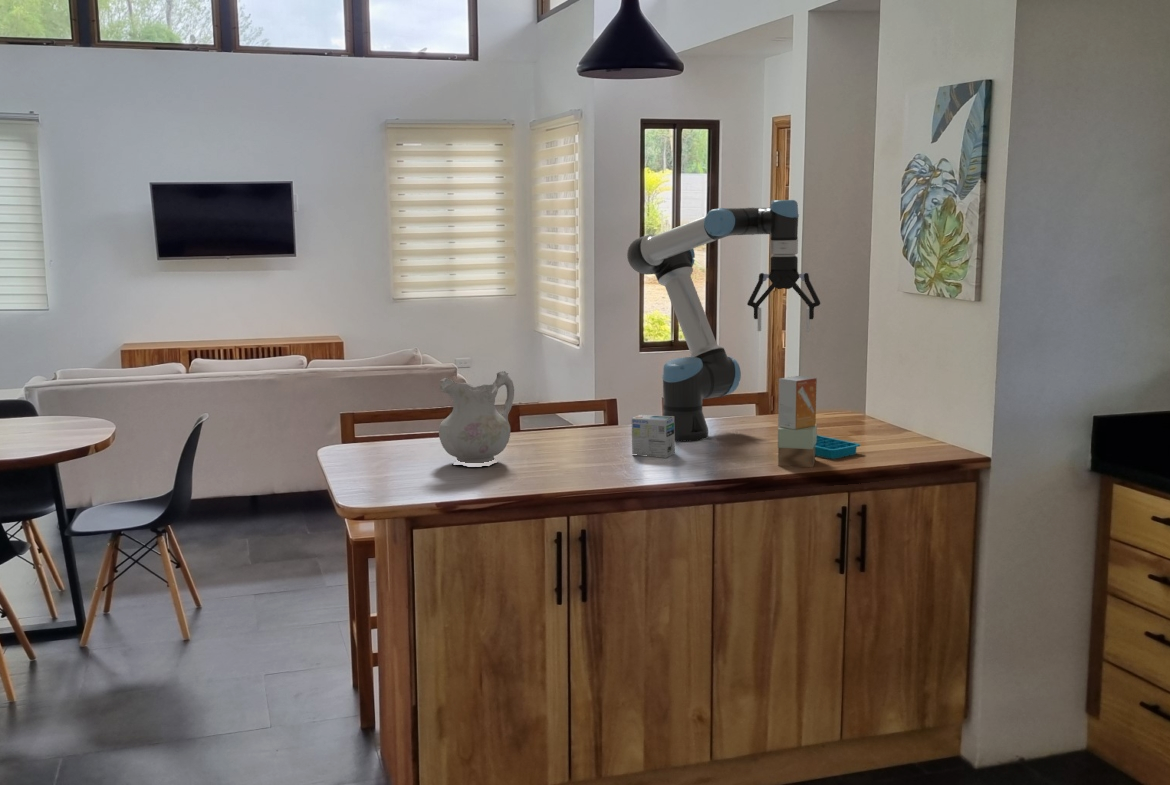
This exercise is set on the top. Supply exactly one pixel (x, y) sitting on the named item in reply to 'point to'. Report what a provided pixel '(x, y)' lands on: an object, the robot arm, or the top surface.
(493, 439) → the ceramic pitcher
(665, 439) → the light bulb box
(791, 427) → the small box
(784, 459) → the walnut block
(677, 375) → the robot arm
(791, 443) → the sage block
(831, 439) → the ice cube tray
